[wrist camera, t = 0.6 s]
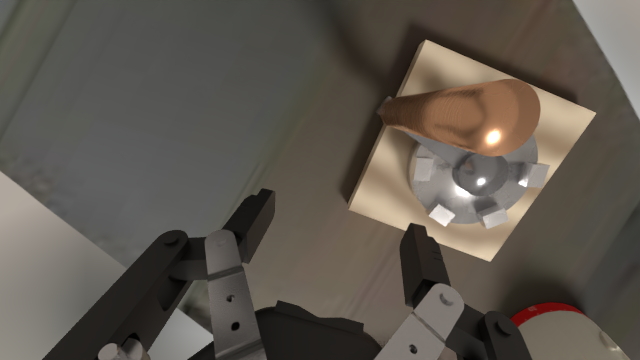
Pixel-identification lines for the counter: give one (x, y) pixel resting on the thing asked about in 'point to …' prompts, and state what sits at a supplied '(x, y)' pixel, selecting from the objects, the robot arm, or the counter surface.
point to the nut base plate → (395, 146)
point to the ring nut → (470, 148)
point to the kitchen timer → (564, 334)
